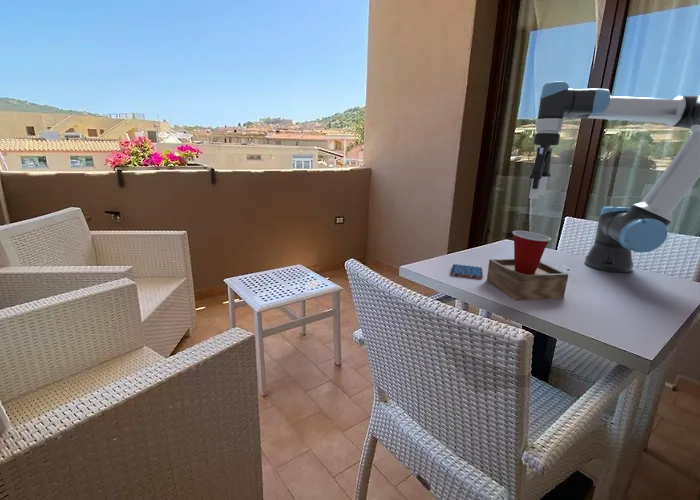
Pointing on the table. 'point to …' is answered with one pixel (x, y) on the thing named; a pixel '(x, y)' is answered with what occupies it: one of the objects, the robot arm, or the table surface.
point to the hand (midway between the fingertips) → (537, 196)
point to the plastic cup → (528, 250)
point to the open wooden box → (527, 280)
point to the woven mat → (467, 271)
